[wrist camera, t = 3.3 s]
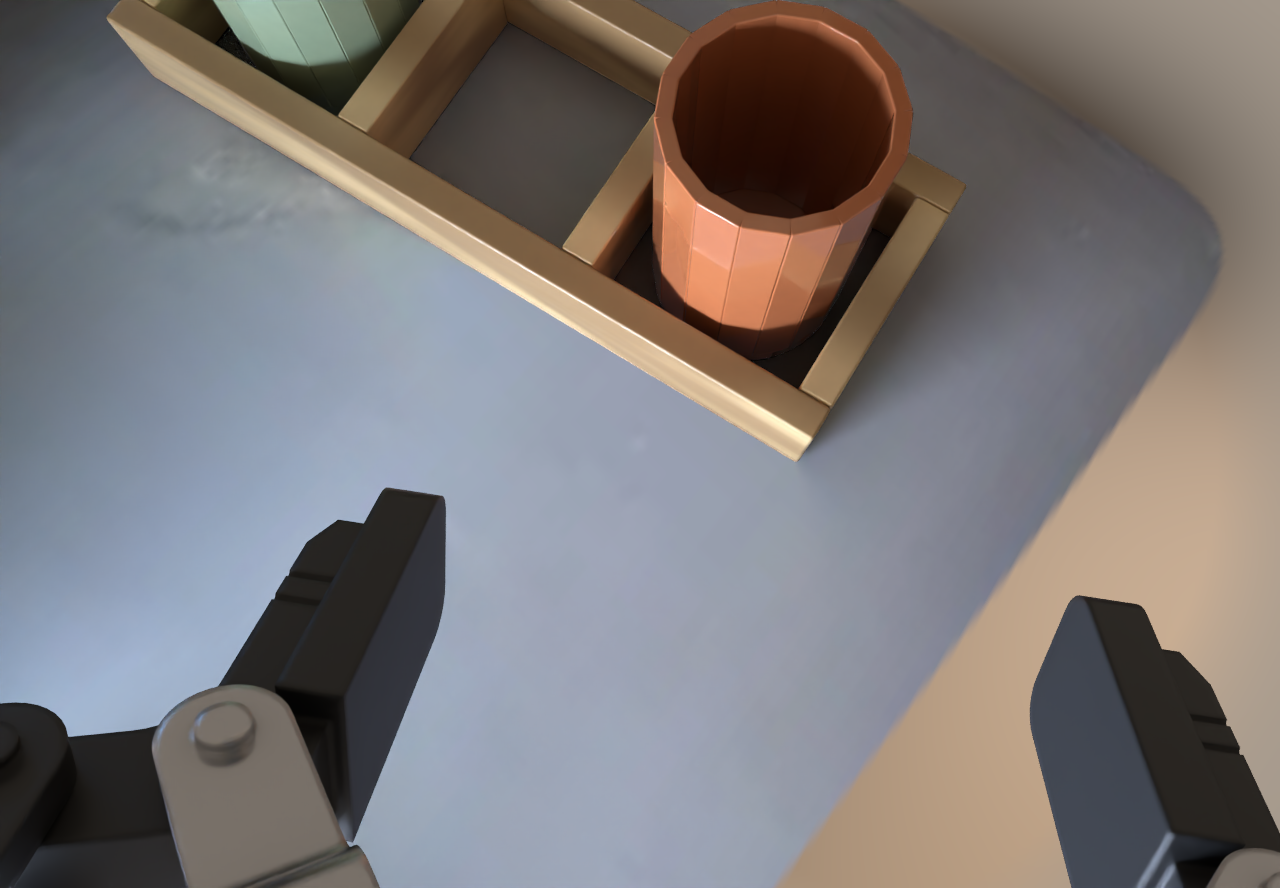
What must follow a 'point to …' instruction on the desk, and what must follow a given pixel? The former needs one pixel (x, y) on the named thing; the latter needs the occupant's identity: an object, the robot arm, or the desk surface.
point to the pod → (317, 41)
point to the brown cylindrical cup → (771, 170)
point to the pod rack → (506, 251)
